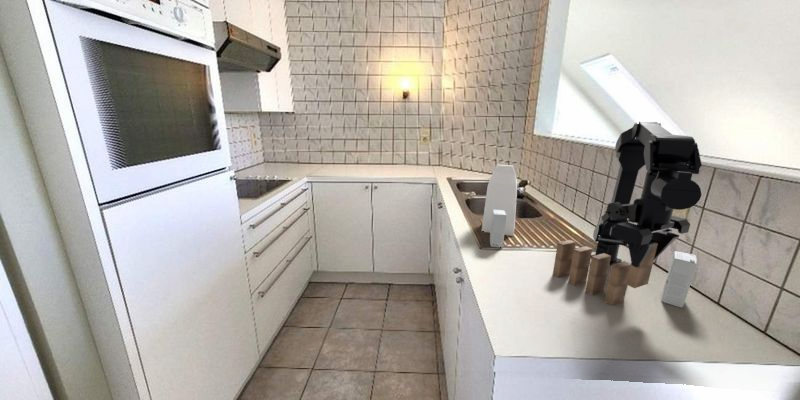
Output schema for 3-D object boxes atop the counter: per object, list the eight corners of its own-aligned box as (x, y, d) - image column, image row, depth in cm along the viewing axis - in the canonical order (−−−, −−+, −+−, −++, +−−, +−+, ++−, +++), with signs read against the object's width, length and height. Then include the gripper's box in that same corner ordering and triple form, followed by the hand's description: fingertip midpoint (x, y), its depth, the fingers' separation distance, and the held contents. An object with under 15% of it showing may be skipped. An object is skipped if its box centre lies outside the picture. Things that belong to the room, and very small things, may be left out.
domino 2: (580, 278, 89) (586, 246, 87) (586, 281, 88) (592, 248, 85) (568, 282, 87) (573, 249, 84) (574, 285, 85) (580, 251, 83)
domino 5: (639, 279, 74) (649, 240, 71) (647, 283, 72) (658, 243, 69) (626, 284, 72) (635, 243, 69) (634, 288, 70) (644, 246, 67)
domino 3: (597, 287, 85) (604, 253, 82) (604, 290, 83) (611, 255, 81) (585, 291, 83) (591, 256, 80) (591, 294, 81) (598, 259, 79)
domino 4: (616, 296, 80) (624, 261, 78) (623, 300, 79) (632, 264, 76) (604, 301, 78) (611, 264, 76) (611, 305, 77) (619, 267, 74)
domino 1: (564, 271, 94) (569, 239, 91) (569, 273, 92) (575, 242, 89) (552, 274, 91) (557, 242, 89) (558, 277, 90) (563, 244, 87)
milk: (481, 231, 125) (487, 166, 118) (485, 222, 135) (490, 162, 129) (513, 236, 121) (521, 168, 114) (514, 226, 131) (521, 164, 124)
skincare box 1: (503, 248, 109) (506, 215, 106) (490, 246, 110) (493, 214, 107) (501, 241, 115) (504, 210, 112) (489, 240, 116) (492, 209, 113)
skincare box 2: (661, 292, 83) (672, 249, 80) (684, 298, 80) (696, 254, 77) (660, 302, 78) (672, 257, 75) (684, 309, 76) (697, 263, 73)
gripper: (642, 184, 77) (629, 243, 81) (592, 192, 69) (580, 256, 74) (699, 195, 67) (681, 262, 72) (648, 205, 60) (631, 279, 64)
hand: (642, 263), depth 71 cm, fingers closed on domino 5, 5 cm apart
